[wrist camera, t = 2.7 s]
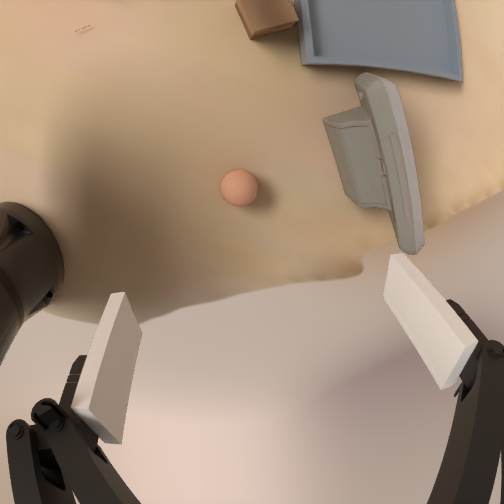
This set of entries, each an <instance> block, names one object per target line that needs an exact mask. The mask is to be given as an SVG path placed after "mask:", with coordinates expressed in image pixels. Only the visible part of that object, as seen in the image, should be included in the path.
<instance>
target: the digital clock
mask: <svg viewBox="0 0 504 504" xmlns="http://www.w3.org/2000/svg"><path fill="white" fill-rule="evenodd" d="M354 83H355V86H356V89H357V93H358V96H359V99H360V102H361V105H362V106H361V107H357V108H354V109H351V110H348V111H345V112H341V113H338V114H335V115H332V116H329V117H326V118H324V119H323V123H324V126H325V129H326V132H327V135H328V138H329V141H330V144H331V147H332V151H333V154H334V157H335V160H336V164H337V167H338V170H339V174H340V177H341V181H342V184H343V188H344V191H345V194H346V195H347V196H348V197H349V198H350V199H352V200H353V201H354V202H355V203H356V204H357V205H358V206H360V207H363V208H367V207H377V208H382V209H387V210H388V211H389V214H390V218H391V221H392V224H393V228H394V231H395V235H396V238H397V242H398V245H399V248H400V249H401V250H402V251H404V252H405V253H407V254H410V255H415V254H417V253H418V252H419V251H420V250H421V248H422V247H423V246H424V228H423V217H422V208H421V200H420V192H419V185H418V178H417V172H416V166H415V160H414V155H413V149H412V144H411V139H410V135H409V130H408V126H407V121H406V117H405V113H404V109H403V105H402V102H401V98H400V95H399V91H398V89H397V87H396V85H395V84H394V83H393V82H391V81H389V80H387V79H385V78H382V77H379V76H377V75H374V74H371V73H368V72H364V73H362V74H360V75H359V76H358V77H357V78H356V80H355V82H354ZM371 117H372V118H371ZM372 119H373V120H372ZM373 124H375V125H373ZM374 126H375V127H374ZM375 128H376V129H375ZM376 132H377V133H376ZM376 135H377V136H376ZM377 137H378V138H377ZM377 139H378V140H377ZM378 141H379V142H378Z"/></svg>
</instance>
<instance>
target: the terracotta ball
mask: <svg viewBox="0 0 504 504" xmlns="http://www.w3.org/2000/svg"><path fill="white" fill-rule="evenodd" d="M221 193H222V196H223V198H224V199H225V200H226V201H227V202H228V203H229V204H231V205H233V206H239V207H240V206H245V205H248V204H250V203H251V202H252V201H253V200H254V199H255V197H256V196H257V193H258V183H257V180H256V178H255V177H254V176H253V175H252V174H251V173H250V172H248V171H246V170H242V169H237V170H233V171H231V172H229V173H228V174H227V175H226V176H225V177H224V178H223V180H222V183H221Z"/></svg>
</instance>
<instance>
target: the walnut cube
mask: <svg viewBox="0 0 504 504" xmlns="http://www.w3.org/2000/svg"><path fill="white" fill-rule="evenodd" d="M235 7H236V9H237V11H238V14H239V16H240V18H241V20H242V22H243V25H244V27H245V29H246V31H247V34H248V36H249V38H250V39H253V38H257V37H260V36H263V35H267V34H270V33H274V32H278V31H282V30H285V29H289V28H290V27H291V26H293V25H294V24H295V23H296V22H297V21H299V19H298V17H297V14H296V12H295V10H294V8H293V5H292V3H291V1H290V0H236V4H235Z"/></svg>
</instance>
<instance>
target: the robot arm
mask: <svg viewBox="0 0 504 504" xmlns="http://www.w3.org/2000/svg"><path fill="white" fill-rule="evenodd" d="M63 276H64V266H63V259H62V255H61V252H60V249H59V246H58V244H57V242H56V240H55V238H54V236H53V234H52V233H51V231H50V230H49V228H48V227H47V226H46V224H45V223H44V222H43V221H42V220H41V219H40V218H39V217H38V216H37V215H36V214H35V213H34V212H32V211H31V210H29V209H28V208H26V207H24V206H22V205H19V204H16V203H12V202H3V203H0V365H1V363H2V361H3V359H4V357H5V355H6V353H7V351H8V349H9V347H10V345H11V344H12V342H13V340H14V338H15V336H16V335H17V333H18V331H19V329H20V327H21V326H22V324H23V323H24V322H25V321H26V320H28V319H29V318H31V317H32V316H33V315H35V314H36V313H38V312H39V311H41V310H42V309H43V308H45V307H46V306H48V305H49V304H50V303H51V301H52V300H53V299H54V297H55V296H56V294H57V292H58V291H59V289H60V287H61V285H62V282H63ZM383 299H384V300H385V302H386V303H387V305H388V306H389V308H390V309H391V311H392V312H393V313H394V315H395V317H396V318H397V320H398V321H399V323H400V324H401V326H402V327H403V329H404V331H405V332H406V334H407V335H408V337H409V338H410V340H411V342H412V343H413V345H414V346H415V348H416V349H417V351H418V353H419V354H420V356H421V358H422V359H423V361H424V363H425V364H426V366H427V368H428V369H429V371H430V372H431V374H432V376H433V378H434V379H435V381H436V383H437V385H438V386H439V388H440V390H443V389H445V388H448V387H450V386H452V385H454V384H455V382H456V381H457V379H458V377H459V376H460V378H461V380H462V383H461V384H460V386H459V387H458V389H457V390H456V392H455V394H454V397H456V395H457V394H458V392H459V395H458V400H457V405H456V410H455V415H454V419H453V424H452V428H451V432H450V436H449V439H448V443H447V447H446V451H445V454H444V457H443V461H442V463H441V467H440V470H439V473H438V476H437V478H436V481H435V484H434V487H433V490H432V492H431V495H430V497H429V500H428V502H427V504H488V503H489V500H490V497H491V493H492V489H493V485H494V481H495V477H496V472H497V467H498V462H499V457H500V452H501V461H502V482H501V503H500V504H504V346H503V345H502V344H501V343H500V342H497V341H495V340H490V341H489V340H488V339H487V338H486V337H485V336H484V334H483V333H482V332H481V331H480V329H479V328H478V327H477V326H476V324H475V323H474V322H473V321H472V320H470V317H469V316H468V315H467V314H466V313H465V311H464V310H463V309H462V308H461V306H460V305H459V304H457V303H456V302H454V301H453V300H451V299H449V300H445V299H444V298H443V297H442V296H441V294H440V293H439V292H438V291H437V290H436V289H435V288H434V286H433V285H432V284H431V283H430V282H429V281H428V280H427V279H426V277H424V275H423V274H422V273H421V272H420V271H419V270H418V269H417V268H416V266H415V265H414V264H413V263H412V262H411V261H410V260H409V259H408V258H407V257H406V256H405V255H404V254H403V253H398V254H393V255H390V260H389V267H388V272H387V278H386V283H385V289H384V294H383ZM141 336H142V332H141V329H140V327H139V325H138V322H137V320H136V317H135V315H134V313H133V310H132V308H131V305H130V303H129V300H128V298H127V295H126V293H125V292H119V293H111V295H110V298H109V300H108V302H107V305H106V307H105V310H104V312H103V315H102V317H101V320H100V322H99V325H98V328H97V331H96V333H95V336H94V338H93V341H92V344H91V347H90V349H89V352H88V355H80V356H79V357H78V358H77V359H76V361H75V362H74V363H73V365H72V368H71V370H70V375H69V376H68V379H67V383H66V385H65V387H64V390H63V394H62V396H61V400H60V403H59V405H58V404H57V403H56V401H55V400H53V399H51V398H44V399H42V400H40V401H39V402H37V403H36V404H35V406H34V407H33V409H32V412H31V419H32V421H34V423H35V425H30V426H29V425H28V424H27V423H26V422H25V421H24V420H21V419H18V420H15V421H13V422H12V423H11V424H10V425H9V426H8V429H7V433H6V441H7V453H8V463H9V471H10V479H11V485H12V491H13V496H14V502H15V504H76V502H75V499H74V495H73V492H74V494H75V496H76V498H77V499H78V501H79V503H80V504H141V503H140V502H139V500H138V499H137V498H136V497H135V496H134V494H133V493H132V492H131V490H130V489H129V488H128V486H127V485H126V484H125V482H124V481H123V480H122V478H121V477H120V476H119V474H118V473H117V471H116V470H115V469H114V467H113V466H112V464H111V463H110V462H109V460H108V458H107V457H106V455H105V454H104V452H103V451H102V449H101V448H100V446H99V445H98V444H97V443H98V438H100V439H101V440H102V441H104V442H105V443H110V444H122V437H123V430H124V423H125V417H126V411H127V405H128V399H129V394H130V389H131V383H132V378H133V373H134V368H135V363H136V358H137V354H138V349H139V345H140V340H141ZM72 491H73V492H72Z"/></svg>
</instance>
